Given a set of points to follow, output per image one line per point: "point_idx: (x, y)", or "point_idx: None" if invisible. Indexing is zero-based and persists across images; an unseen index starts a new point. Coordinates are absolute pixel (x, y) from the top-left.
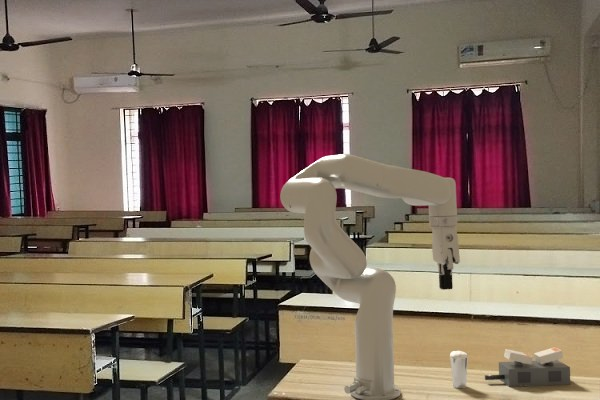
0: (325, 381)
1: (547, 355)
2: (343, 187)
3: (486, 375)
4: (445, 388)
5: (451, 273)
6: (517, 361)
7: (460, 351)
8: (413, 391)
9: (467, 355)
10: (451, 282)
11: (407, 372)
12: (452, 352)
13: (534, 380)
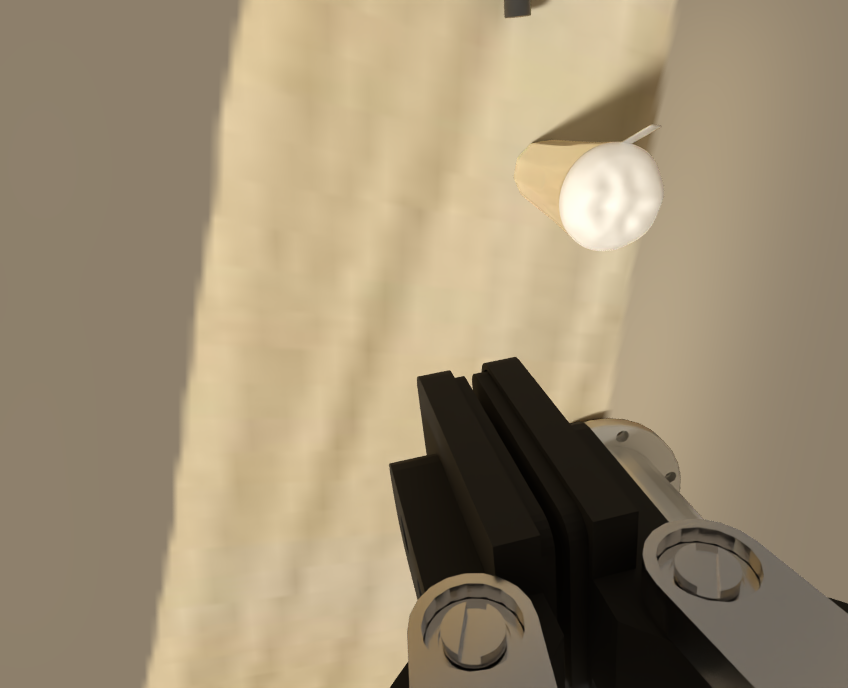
0: None
1: None
2: None
3: (523, 8)
4: (559, 240)
5: (744, 552)
6: None
7: (621, 190)
8: (580, 371)
9: (638, 147)
10: (553, 420)
11: (309, 386)
12: (618, 240)
13: None
